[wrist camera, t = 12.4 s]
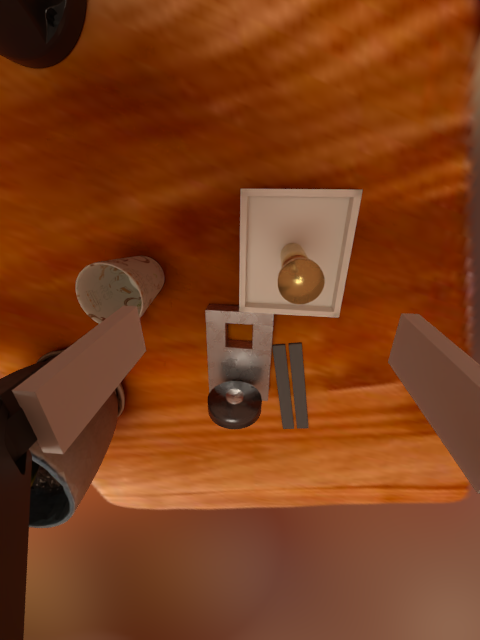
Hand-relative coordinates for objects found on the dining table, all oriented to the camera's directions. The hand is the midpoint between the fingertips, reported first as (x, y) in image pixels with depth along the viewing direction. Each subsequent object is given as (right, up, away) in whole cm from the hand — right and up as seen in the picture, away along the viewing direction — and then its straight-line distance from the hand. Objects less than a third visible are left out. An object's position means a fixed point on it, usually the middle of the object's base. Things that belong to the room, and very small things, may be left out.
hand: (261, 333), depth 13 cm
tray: (+6, +10, +23) cm, 25 cm away
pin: (+6, +9, +22) cm, 25 cm away
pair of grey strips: (+8, -11, +32) cm, 35 cm away
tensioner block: (-1, -4, +30) cm, 31 cm away
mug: (-16, +6, +28) cm, 32 cm away
